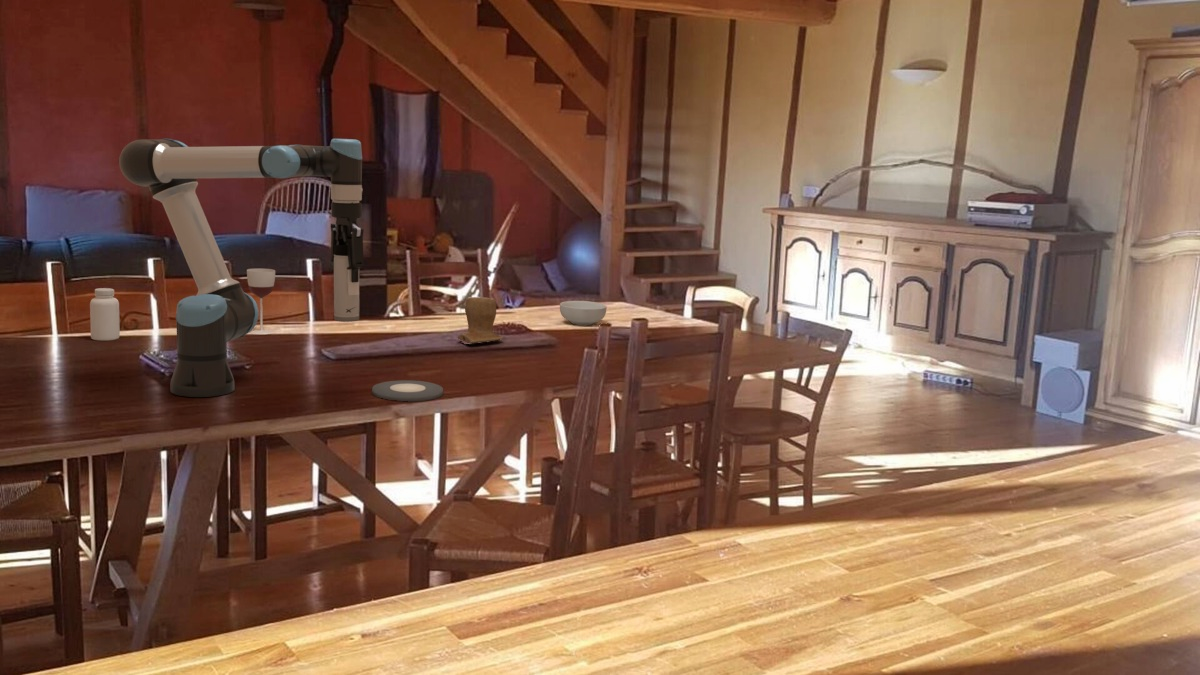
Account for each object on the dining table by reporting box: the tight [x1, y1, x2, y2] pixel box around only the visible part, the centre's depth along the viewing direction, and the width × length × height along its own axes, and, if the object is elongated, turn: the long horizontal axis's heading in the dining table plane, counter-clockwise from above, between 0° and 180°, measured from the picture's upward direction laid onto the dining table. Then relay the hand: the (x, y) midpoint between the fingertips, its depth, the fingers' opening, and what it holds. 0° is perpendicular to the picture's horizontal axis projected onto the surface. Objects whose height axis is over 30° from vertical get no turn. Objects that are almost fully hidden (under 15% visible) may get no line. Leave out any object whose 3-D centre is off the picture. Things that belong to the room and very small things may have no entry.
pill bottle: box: [89, 287, 121, 342], centre depth 326 cm, size 8×8×15 cm
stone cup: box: [457, 296, 504, 343], centre depth 351 cm, size 15×12×15 cm
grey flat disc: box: [371, 379, 444, 403], centre depth 282 cm, size 18×18×1 cm
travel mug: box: [333, 244, 360, 323], centre depth 276 cm, size 6×7×20 cm
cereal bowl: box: [559, 300, 607, 326], centre depth 396 cm, size 17×17×7 cm
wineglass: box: [246, 268, 276, 335], centre depth 347 cm, size 8×9×20 cm
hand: (347, 292), depth 277 cm, fingers closed on travel mug, 6 cm apart
